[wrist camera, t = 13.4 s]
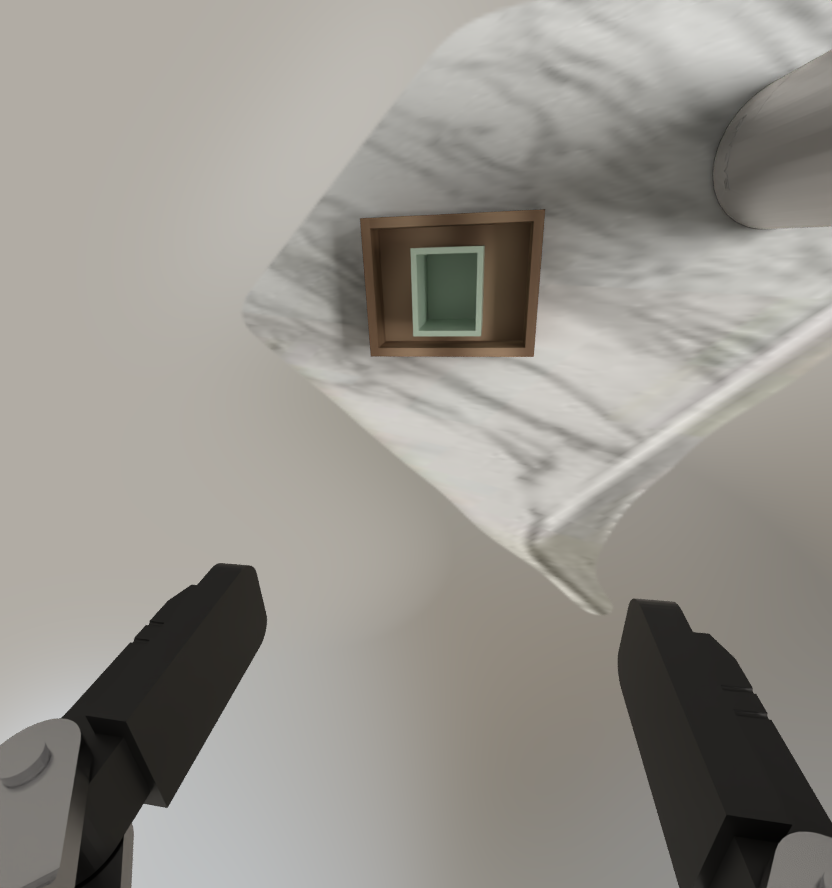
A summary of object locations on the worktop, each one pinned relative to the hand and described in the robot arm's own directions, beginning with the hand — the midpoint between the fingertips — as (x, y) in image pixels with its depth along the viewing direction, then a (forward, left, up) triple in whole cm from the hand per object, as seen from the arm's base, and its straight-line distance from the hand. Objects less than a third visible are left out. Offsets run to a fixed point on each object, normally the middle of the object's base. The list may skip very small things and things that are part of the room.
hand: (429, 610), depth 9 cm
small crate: (+2, -4, -32) cm, 32 cm away
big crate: (+2, -4, -32) cm, 32 cm away
